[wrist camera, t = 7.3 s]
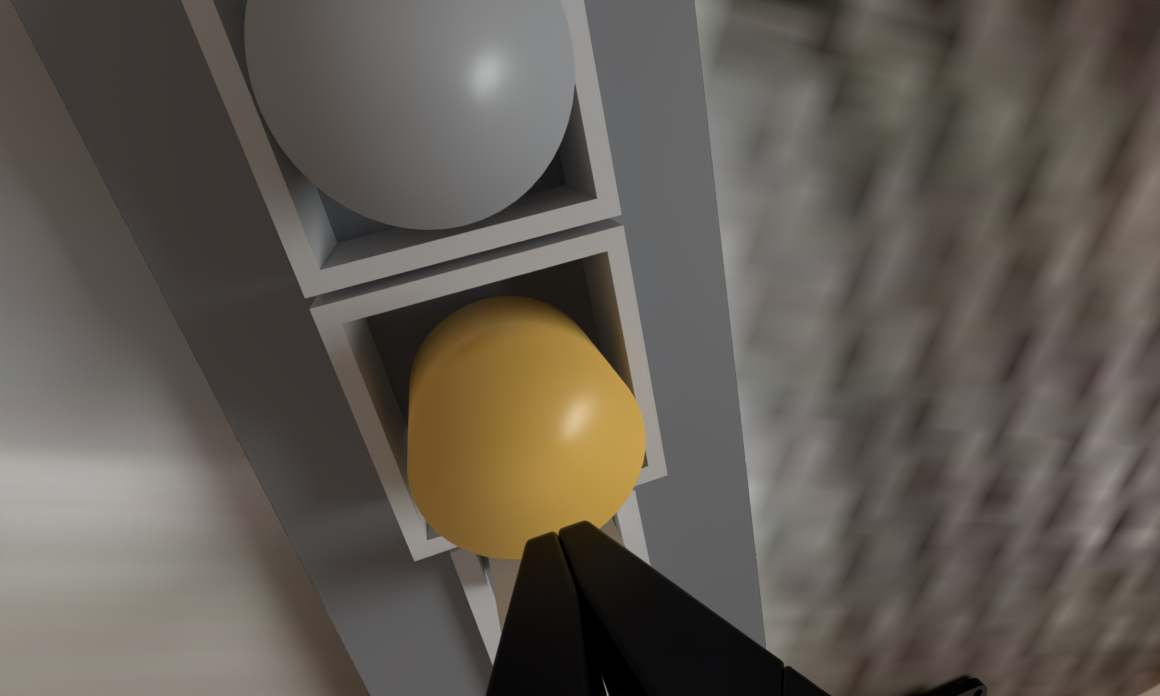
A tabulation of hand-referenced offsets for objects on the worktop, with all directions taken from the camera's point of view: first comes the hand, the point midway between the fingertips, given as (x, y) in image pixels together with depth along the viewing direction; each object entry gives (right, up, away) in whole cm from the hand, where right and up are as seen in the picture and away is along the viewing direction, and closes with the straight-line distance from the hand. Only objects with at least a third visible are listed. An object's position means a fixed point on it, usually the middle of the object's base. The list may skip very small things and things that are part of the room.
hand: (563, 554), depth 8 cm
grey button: (-3, +7, +2) cm, 8 cm away
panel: (-1, 0, +10) cm, 10 cm away
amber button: (-1, +2, +5) cm, 5 cm away
